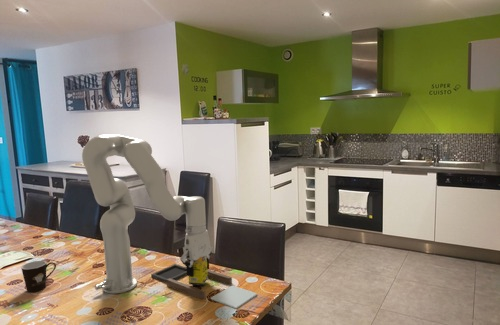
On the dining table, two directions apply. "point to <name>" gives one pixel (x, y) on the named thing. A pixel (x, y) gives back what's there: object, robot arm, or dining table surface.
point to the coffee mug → (35, 275)
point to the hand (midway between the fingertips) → (198, 271)
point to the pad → (234, 296)
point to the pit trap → (170, 273)
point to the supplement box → (199, 271)
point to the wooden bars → (195, 291)
